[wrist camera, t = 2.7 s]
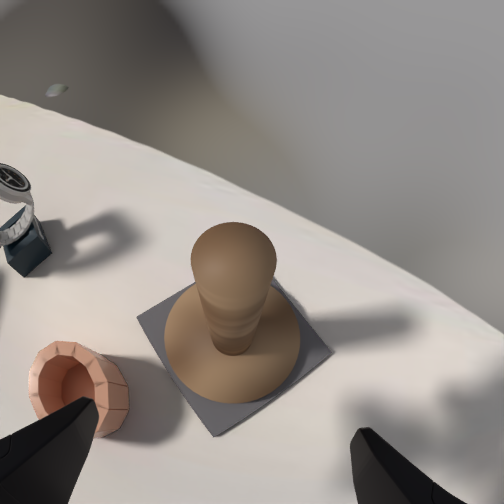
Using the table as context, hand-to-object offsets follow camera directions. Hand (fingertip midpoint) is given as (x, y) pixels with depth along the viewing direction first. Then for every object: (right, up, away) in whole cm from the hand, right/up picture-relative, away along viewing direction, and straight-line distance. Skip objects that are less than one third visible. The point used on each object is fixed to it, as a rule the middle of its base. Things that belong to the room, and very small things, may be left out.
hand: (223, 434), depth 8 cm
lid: (-1, -1, +13) cm, 13 cm away
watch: (-23, +6, +16) cm, 28 cm away
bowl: (-12, -5, +10) cm, 16 cm away
